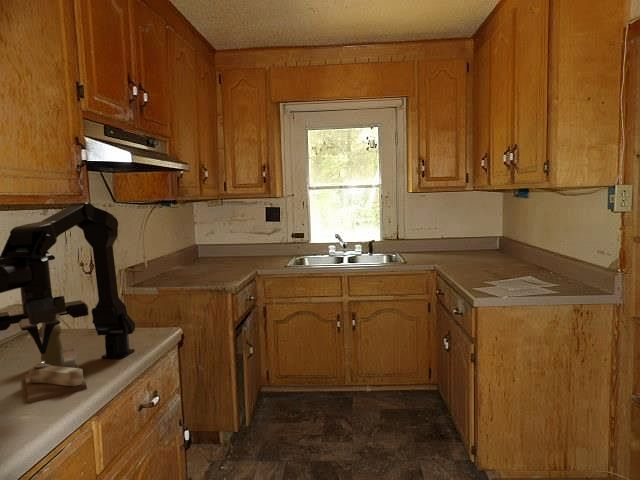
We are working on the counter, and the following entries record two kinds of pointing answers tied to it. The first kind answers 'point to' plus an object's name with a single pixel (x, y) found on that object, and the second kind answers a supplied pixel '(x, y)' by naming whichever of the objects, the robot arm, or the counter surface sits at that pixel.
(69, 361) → the keeper
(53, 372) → the latch arm
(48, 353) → the cork
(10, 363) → the counter surface
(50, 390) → the base plate
